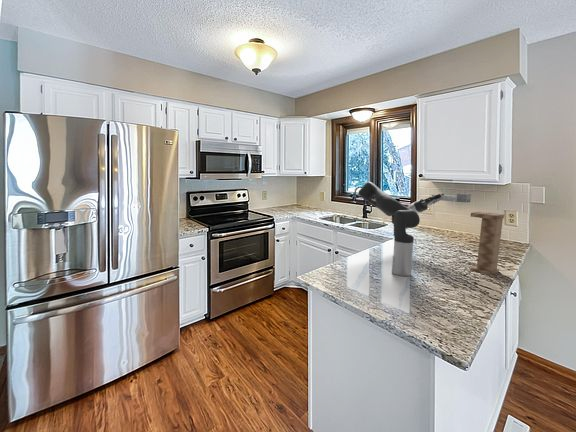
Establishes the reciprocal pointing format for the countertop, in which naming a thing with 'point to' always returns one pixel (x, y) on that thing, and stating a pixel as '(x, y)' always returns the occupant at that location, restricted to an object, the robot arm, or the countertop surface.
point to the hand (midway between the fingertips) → (442, 195)
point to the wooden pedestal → (488, 242)
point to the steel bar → (455, 198)
